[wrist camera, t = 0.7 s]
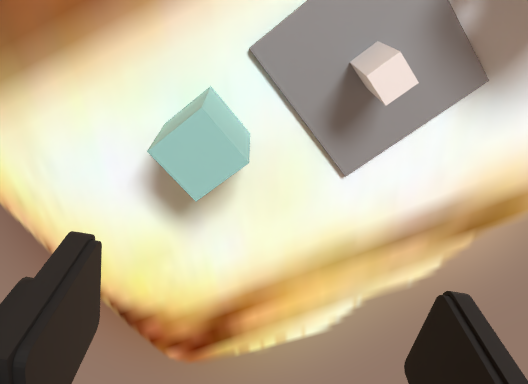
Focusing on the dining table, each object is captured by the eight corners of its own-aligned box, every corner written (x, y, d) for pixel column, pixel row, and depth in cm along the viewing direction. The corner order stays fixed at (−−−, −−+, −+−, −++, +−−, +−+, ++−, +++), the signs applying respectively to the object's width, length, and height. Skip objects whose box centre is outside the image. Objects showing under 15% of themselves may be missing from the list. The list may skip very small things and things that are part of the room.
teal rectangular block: (205, 167, 37) (195, 201, 31) (164, 123, 35) (147, 151, 30) (250, 133, 36) (249, 162, 30) (210, 86, 34) (201, 107, 28)
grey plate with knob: (344, 174, 38) (359, 206, 32) (249, 47, 33) (248, 60, 27) (486, 79, 34) (529, 97, 29) (404, -80, 29) (438, -95, 24)
